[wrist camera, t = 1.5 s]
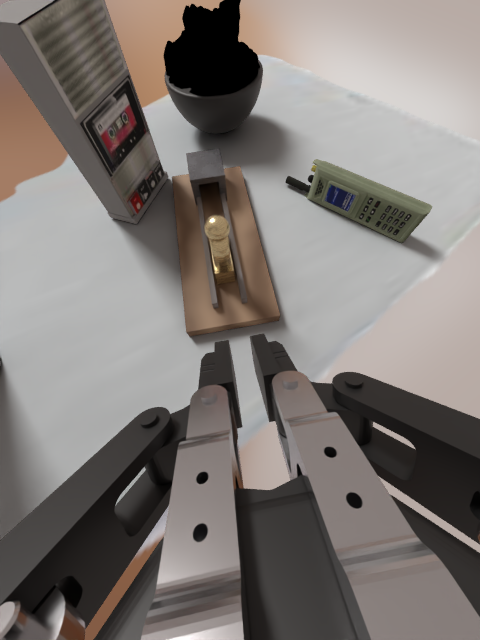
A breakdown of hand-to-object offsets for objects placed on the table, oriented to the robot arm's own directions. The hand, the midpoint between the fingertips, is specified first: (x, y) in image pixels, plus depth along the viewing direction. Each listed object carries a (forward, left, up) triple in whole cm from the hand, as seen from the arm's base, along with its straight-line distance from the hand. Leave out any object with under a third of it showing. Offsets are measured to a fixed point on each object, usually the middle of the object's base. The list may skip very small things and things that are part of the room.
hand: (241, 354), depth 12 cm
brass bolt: (0, +21, -20) cm, 29 cm away
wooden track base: (0, +27, -22) cm, 35 cm away
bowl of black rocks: (+5, +62, -22) cm, 66 cm away
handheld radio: (+24, +30, -22) cm, 45 cm away
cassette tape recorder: (-14, +42, -22) cm, 49 cm away
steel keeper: (0, +38, -20) cm, 43 cm away
